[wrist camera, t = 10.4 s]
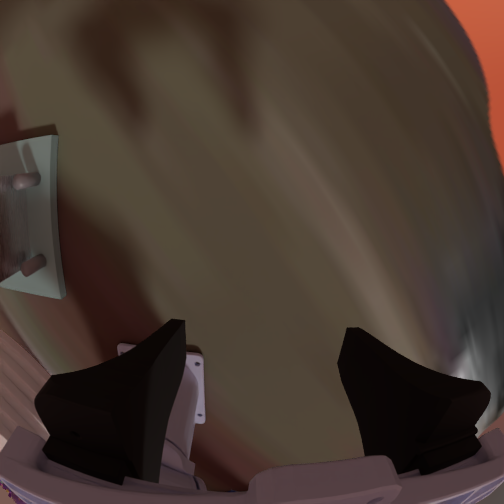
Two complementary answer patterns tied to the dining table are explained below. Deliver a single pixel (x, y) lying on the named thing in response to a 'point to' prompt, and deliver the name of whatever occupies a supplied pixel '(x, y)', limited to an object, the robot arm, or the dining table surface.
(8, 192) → the pale pink block
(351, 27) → the dining table surface
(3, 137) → the dining table surface
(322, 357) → the dining table surface
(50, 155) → the grey plate with pegs
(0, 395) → the plate stack
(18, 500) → the cell model
